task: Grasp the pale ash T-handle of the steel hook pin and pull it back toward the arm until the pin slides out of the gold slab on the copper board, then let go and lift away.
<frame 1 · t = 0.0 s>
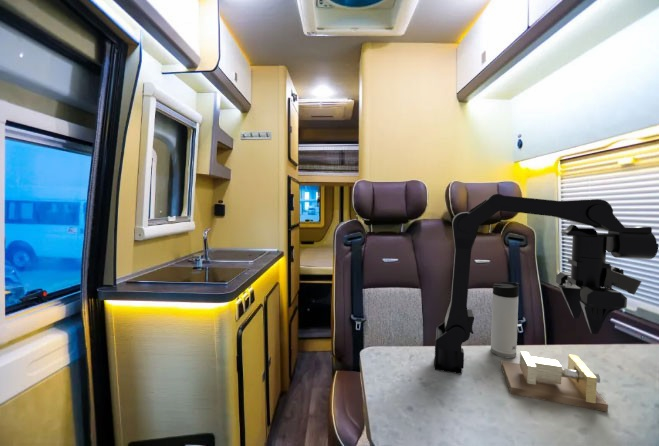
hand: (584, 325, 68), 15 cm above the table, fingers open, 9 cm apart
travel mug: (503, 353, 86), on the table
gold slab: (580, 395, 67), resting on copper board
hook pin: (559, 372, 68), point 4 cm above the table, slide at 0.0 cm
copper board: (548, 386, 70), on the table
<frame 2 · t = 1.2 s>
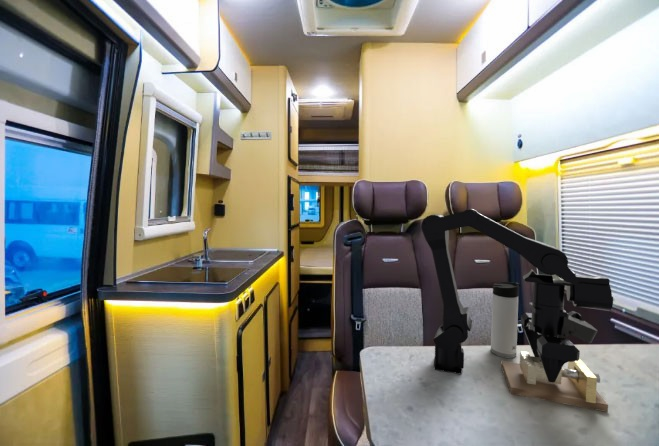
hand: (544, 370, 69), 4 cm above the table, fingers open, 9 cm apart
nothing on the table moved.
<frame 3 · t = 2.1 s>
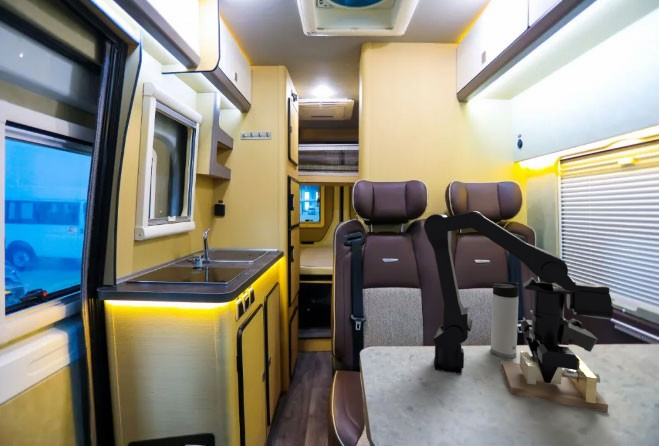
hand: (544, 378, 69), 3 cm above the table, fingers closed on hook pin, 3 cm apart
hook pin: (559, 372, 68), point 4 cm above the table, slide at 0.0 cm, touching gripper
everything else where it was.
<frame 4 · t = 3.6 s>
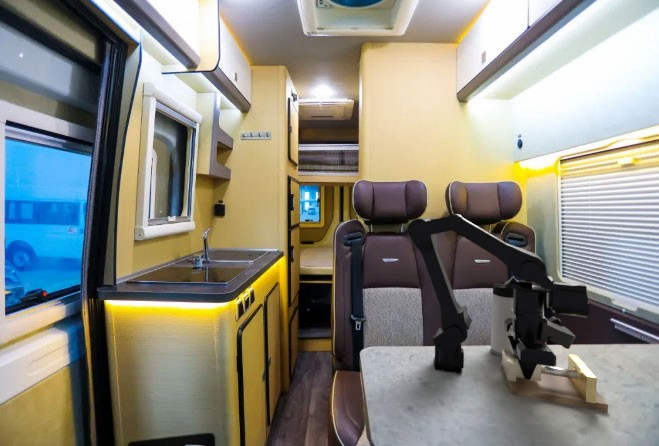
hand: (525, 375, 70), 2 cm above the table, fingers closed on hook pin, 3 cm apart
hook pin: (539, 369, 69), point 4 cm above the table, slide at 3.7 cm, touching gripper
everything else where it was.
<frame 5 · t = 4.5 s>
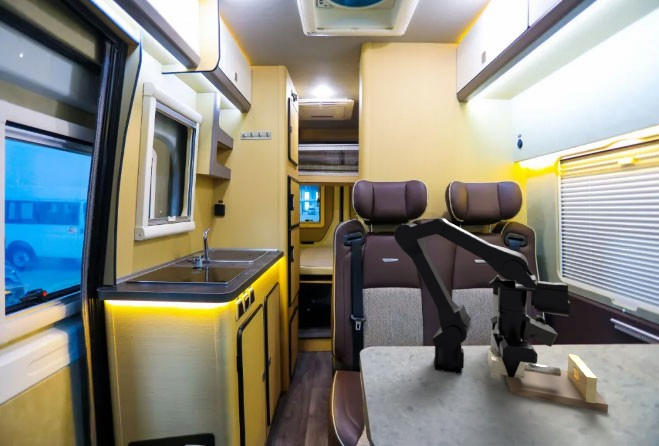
hand: (509, 372, 71), 2 cm above the table, fingers open, 3 cm apart
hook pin: (523, 366, 70), point 4 cm above the table, slide at 6.9 cm
everything else where it was.
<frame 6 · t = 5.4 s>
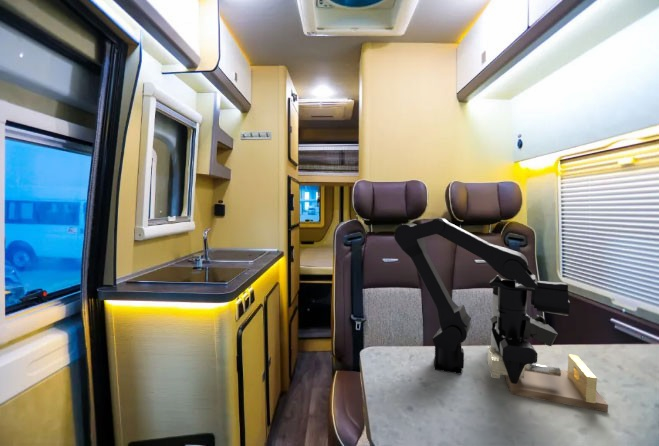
hand: (509, 372, 71), 3 cm above the table, fingers open, 9 cm apart
nothing on the table moved.
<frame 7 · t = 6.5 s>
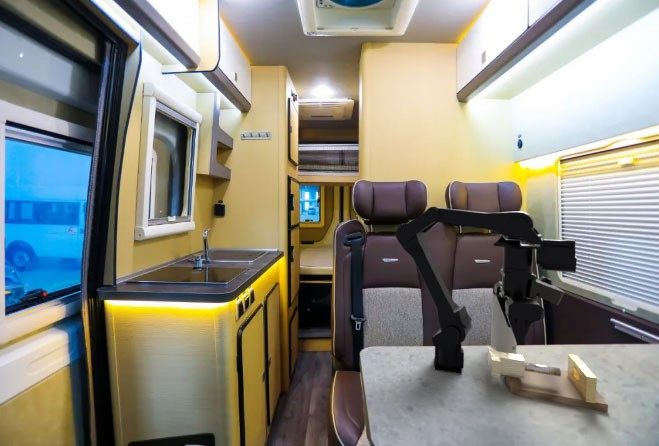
hand: (514, 335, 69), 12 cm above the table, fingers open, 9 cm apart
nothing on the table moved.
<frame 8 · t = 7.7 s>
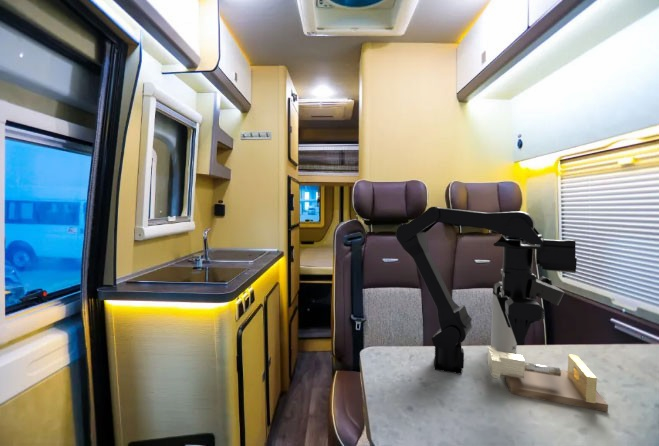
hand: (514, 335, 69), 12 cm above the table, fingers open, 9 cm apart
nothing on the table moved.
at the end: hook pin slide at 6.9 cm; the gripper is holding nothing; travel mug moved 0.2 cm from its start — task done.
